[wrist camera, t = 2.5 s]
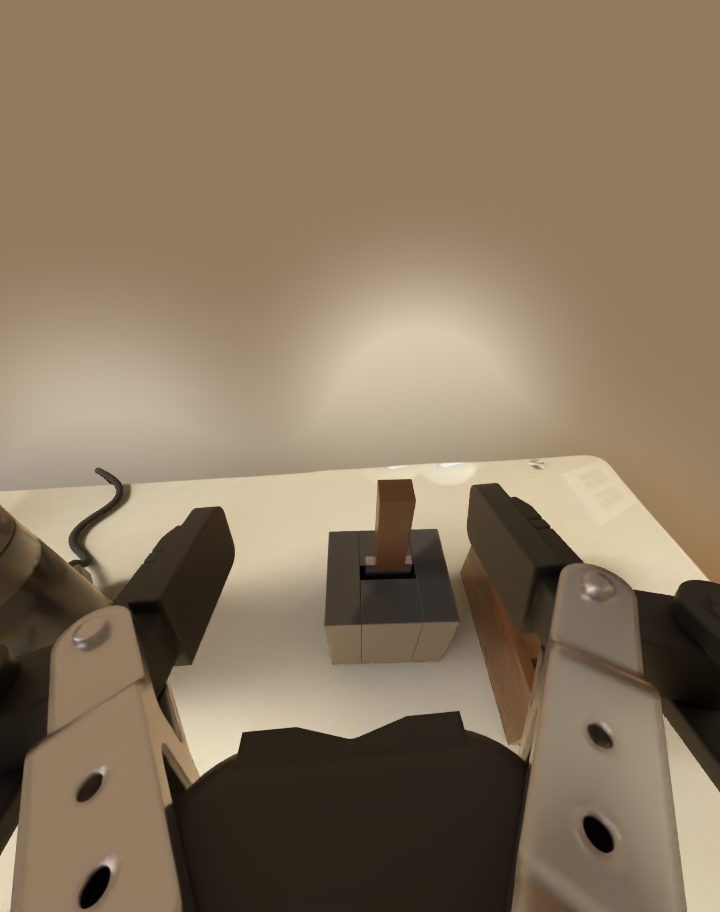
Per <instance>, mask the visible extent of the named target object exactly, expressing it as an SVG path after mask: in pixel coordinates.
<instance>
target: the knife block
mask: <svg viewBox="0 0 720 912" xmlns="http://www.w3.org/2000/svg"><path fill="white" fill-rule="evenodd" d="M374 546H375V531H359V532H358V531H342V532H329V544H328V563H327V582H326V602H325V621H324V626H325V631H326V636H327V642H328V647H329V652H330V657H331V662H332V664H333V665H335V664H361V663H362V664H366V663H396V662H426V661H440V660H441V658H442V656H443V654H444V652H445V650H446V648H447V646H448V644H449V642H450V641H451V639H452V637H453V635H454V633H455V631H456V629H457V627H458V625H459V623H460V619H459V615H458V610H457V606H456V602H455V598H454V594H453V590H452V586H451V582H450V578H449V574H448V570H447V566H446V562H445V558H444V554H443V550H442V546H441V542H440V538H439V534H438V530H437V529H419V530H411V532H410V538H409V543H408V549H407V555H406V556H411V559H412V567H411V572H410V577H409V579H380V580H365V560H366V557H373V556H375V553H374Z"/></svg>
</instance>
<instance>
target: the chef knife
mask: <svg viewBox="0 0 720 912" xmlns="http://www.w3.org/2000/svg"><path fill="white" fill-rule="evenodd" d="M415 503H416V499H415V494H414V489H413V484H412V480H411V479H400V480H378V484H377V505H376V525H375V546H374V553H375V556H373V557H366V560H365V580H380V579H409V577H410V572H411V567H412V559H411V556H406V555H407V549H408V543H409V538H410V532H411V526H412V520H413V514H414V509H415Z"/></svg>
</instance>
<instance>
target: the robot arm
mask: <svg viewBox="0 0 720 912" xmlns="http://www.w3.org/2000/svg"><path fill="white" fill-rule="evenodd" d="M95 472H96V473H97V474H99V475H100V476H102V477H103V478H104V479H105V480H106V481H108V482H109V483H110V484H111V485H114V486H115V488H116V495H115V497H114V498H113V500H112V501H111V502H109V503H108V504H107V505H106V506H104V507H103V508H101V509H100V510H98V511H96V512H95V513H93V514H92V515H90V516H89V517H87V518H86V519H84V520H83V521H82V522H80V523H79V524H78V525H77V526H76V527H75V528H74V529H73V531H72V532H71V534H70V536H69V545H70V548H71V549H72V551H73V552H74V553H75V554H76V555H77V556H78V557H79V558H80V559H81V560H73V561H71V562H69V563H67V562H66V561H65V560H64V559H62V558H61V557H60V556H59V555H58V554H56V553H55V552H54V551H53V550H52V549H51V548H49V547H48V546H47V545H46V544H45V543H44V542H42V541H41V540H40V539H39V538H38V537H37V536H35V535H34V534H33V533H32V532H30V531H29V530H28V529H27V528H26V527H25V526H23V525H22V524H21V523H20V522H19V521H18V520H16V519H15V518H14V517H13V516H12V515H11V514H10V513H9V512H8V511H6V510H5V509H4V508H3V507H2V506H1V505H0V855H1V853H2V851H3V850H4V848H5V846H6V844H7V843H8V841H9V839H10V837H11V836H12V834H13V832H14V830H15V829H16V827H17V825H18V834H17V845H16V856H15V866H14V877H13V887H12V898H11V909H10V912H687V907H686V899H685V891H684V882H683V874H682V866H681V858H680V850H679V842H678V834H677V826H676V818H675V810H674V802H673V793H672V785H671V777H670V769H669V761H668V753H667V745H666V737H665V729H664V721H663V714H664V716H665V717H666V718H667V720H668V721H669V722H670V724H671V725H672V727H673V728H674V729H675V731H676V732H677V734H678V735H679V736H680V738H681V739H682V740H683V742H684V743H685V745H686V746H687V747H688V749H689V750H690V752H691V753H692V754H693V756H694V757H695V758H696V760H697V761H698V763H699V764H700V765H701V767H702V768H703V770H704V771H705V772H706V774H707V775H708V776H709V778H710V779H711V781H712V782H713V783H714V785H715V786H716V787H717V789H718V790H719V792H720V584H717V583H713V582H709V581H702V580H690V581H686V582H683V583H682V584H681V585H680V586H679V588H678V590H677V592H676V594H675V596H670V595H664V594H657V593H651V592H645V591H638V590H633V589H632V588H631V587H630V586H629V585H628V584H627V583H626V582H625V581H624V580H623V579H622V578H620V577H619V576H617V575H616V574H614V573H612V572H610V571H608V570H606V569H604V568H601V567H598V566H595V565H591V564H585V563H584V562H583V561H582V560H581V559H580V558H579V557H578V556H577V555H576V554H575V553H574V552H573V550H572V549H571V548H570V547H569V546H568V545H567V544H566V543H565V542H564V541H563V540H562V539H561V537H560V536H559V535H558V534H557V533H556V532H555V531H554V530H553V529H551V528H550V526H549V524H548V523H547V522H546V521H545V520H544V519H542V517H541V516H540V515H539V514H538V513H537V511H536V510H535V509H534V508H533V507H532V506H531V505H529V504H527V503H526V502H524V501H522V500H520V499H519V498H517V497H509V495H508V494H507V493H506V492H505V491H504V490H503V488H502V487H501V486H500V485H499V484H498V483H490V484H479V485H473V486H472V487H471V490H470V498H469V508H468V519H467V532H468V537H469V540H470V543H471V545H472V547H473V549H474V550H475V552H476V554H477V556H478V558H479V560H480V562H481V564H482V565H483V567H484V569H485V571H486V573H487V575H488V577H489V579H490V580H491V582H492V584H493V586H494V588H495V590H496V592H497V594H498V595H499V597H500V599H501V601H502V603H503V605H504V607H505V609H506V610H507V612H508V614H509V616H510V618H511V620H512V622H513V624H514V625H515V627H516V629H517V631H518V633H519V635H527V634H536V635H537V637H538V638H539V640H540V642H541V645H540V649H539V653H538V659H537V664H536V669H535V675H534V680H533V685H532V691H531V696H530V701H529V706H528V712H527V717H526V722H525V726H524V731H523V735H522V739H521V743H520V748H519V753H518V755H517V754H516V753H514V752H513V751H511V750H510V749H508V748H507V747H505V746H503V745H502V744H500V743H498V742H496V741H494V740H492V739H490V738H488V737H486V736H484V735H481V734H478V733H475V732H472V731H468V730H465V729H464V726H463V722H462V719H461V715H460V712H459V711H455V712H445V713H435V714H424V715H414V716H406V717H404V718H401V719H399V720H397V721H394V722H392V723H390V724H387V725H385V726H383V727H381V728H378V729H376V730H374V731H371V732H369V733H367V734H364V735H362V736H360V737H357V738H354V739H346V738H342V737H337V736H333V735H329V734H324V733H320V732H315V731H311V730H307V729H302V728H298V727H292V728H282V729H272V730H262V731H252V732H243V733H242V737H241V742H240V746H239V751H238V753H237V754H235V755H233V756H231V757H229V758H227V759H225V760H224V761H222V762H220V763H218V764H217V765H216V766H214V767H213V768H211V769H210V770H209V771H207V772H206V773H205V774H203V775H202V776H201V777H200V776H199V773H198V771H197V769H196V766H195V764H194V762H193V759H192V757H191V754H190V751H189V748H188V744H187V741H186V738H185V734H184V731H183V727H182V724H181V720H180V717H179V713H178V710H177V706H176V703H175V699H174V696H173V692H172V689H171V685H170V683H169V681H168V677H169V675H170V673H171V670H172V668H173V666H184V665H192V663H193V660H194V658H195V655H196V653H197V650H198V648H199V645H200V643H201V641H202V638H203V636H204V633H205V631H206V628H207V626H208V624H209V621H210V619H211V616H212V614H213V611H214V609H215V607H216V604H217V602H218V599H219V597H220V594H221V592H222V590H223V587H224V585H225V582H226V580H227V577H228V575H229V572H230V570H231V568H232V565H233V562H234V557H235V547H234V543H233V539H232V536H231V533H230V530H229V526H228V523H227V520H226V517H225V513H224V511H223V509H222V508H221V507H220V506H217V507H205V508H195V509H193V510H192V512H191V513H190V514H189V516H188V517H187V519H186V520H185V521H184V523H183V524H182V525H181V526H176V527H175V528H174V529H173V530H171V531H170V532H169V533H167V534H166V535H165V536H164V537H162V538H161V540H160V541H159V542H158V544H157V545H156V546H155V548H154V549H153V550H152V551H153V552H152V553H150V554H149V556H148V557H147V558H146V560H145V561H144V564H142V565H141V566H140V568H139V569H138V570H137V572H136V573H135V574H134V576H133V577H132V578H131V580H130V581H129V582H128V583H127V585H126V586H125V587H124V589H123V590H122V591H121V593H120V594H119V595H118V597H117V598H116V599H115V601H112V600H110V599H109V598H108V597H107V596H105V595H104V594H103V593H102V592H101V591H100V590H99V589H97V588H96V587H95V586H94V585H93V582H92V578H91V575H90V573H89V572H88V571H86V570H85V569H84V567H87V566H88V565H89V564H90V562H91V558H90V555H89V554H88V553H87V552H86V551H85V550H84V549H83V548H82V547H81V546H80V545H79V543H78V536H79V534H80V533H81V531H82V530H83V529H84V528H85V527H86V526H88V525H89V524H90V523H92V522H93V521H94V520H96V519H97V518H99V517H101V516H102V515H104V514H105V513H107V512H108V511H110V510H111V509H112V508H114V507H115V506H116V505H117V504H118V503H119V502H120V500H121V499H122V497H123V492H124V491H123V486H122V484H121V482H120V481H119V480H118V479H117V478H116V477H114V476H113V475H111V474H110V473H108V472H106V471H104V470H102V469H100V468H96V469H95Z"/></svg>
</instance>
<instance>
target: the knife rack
mask: <svg viewBox="0 0 720 912" xmlns="http://www.w3.org/2000/svg"><path fill="white" fill-rule="evenodd" d="M460 573H461V577H462V580H463V584H464V587H465V591H466V595H467V598H468V602H469V605H470V609H471V612H472V616H473V620H474V623H475V627H476V630H477V634H478V638H479V641H480V645H481V648H482V652H483V656H484V659H485V663H486V666H487V670H488V674H489V677H490V681H491V684H492V688H493V692H494V695H495V699H496V702H497V706H498V710H499V713H500V717H501V720H502V724H503V728H504V731H505V735H506V738H507V742H508V745H519V744H520V743H521V739H522V735H523V731H524V726H525V722H526V717H527V712H528V706H529V701H530V696H531V691H532V685H533V680H534V675H535V669H536V664H537V659H538V653H539V649H540V645H541V642H540V640H539V638H538V637H537V635H536V634H527V635H519V633H518V631H517V629H516V627H515V625H514V624H513V622H512V620H511V618H510V616H509V614H508V612H507V610H506V609H505V607H504V605H503V603H502V601H501V599H500V597H499V595H498V594H497V592H496V590H495V588H494V586H493V584H492V582H491V580H490V579H489V577H488V575H487V573H486V571H485V569H484V567H483V565H482V564H481V562H480V560H479V558H478V556H477V554H476V552H475V550H474V549H473V547H472V545H471V548H470V550H469V553H468V555H467V557H466V560H465V562H464V565H463V567H462V570H461V572H460Z"/></svg>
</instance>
